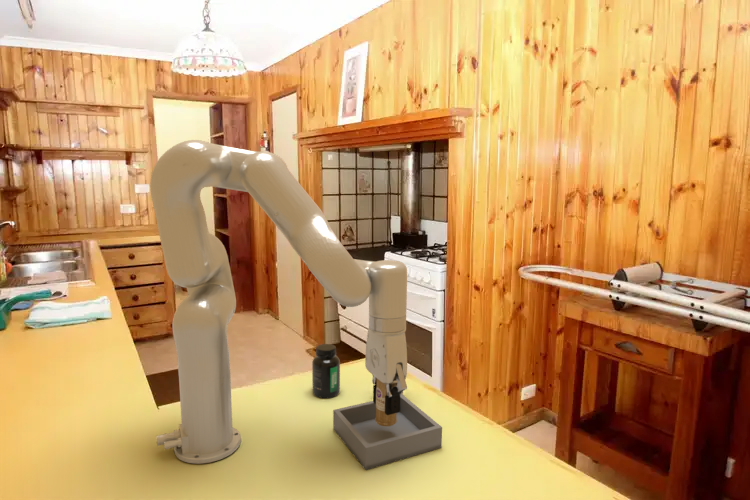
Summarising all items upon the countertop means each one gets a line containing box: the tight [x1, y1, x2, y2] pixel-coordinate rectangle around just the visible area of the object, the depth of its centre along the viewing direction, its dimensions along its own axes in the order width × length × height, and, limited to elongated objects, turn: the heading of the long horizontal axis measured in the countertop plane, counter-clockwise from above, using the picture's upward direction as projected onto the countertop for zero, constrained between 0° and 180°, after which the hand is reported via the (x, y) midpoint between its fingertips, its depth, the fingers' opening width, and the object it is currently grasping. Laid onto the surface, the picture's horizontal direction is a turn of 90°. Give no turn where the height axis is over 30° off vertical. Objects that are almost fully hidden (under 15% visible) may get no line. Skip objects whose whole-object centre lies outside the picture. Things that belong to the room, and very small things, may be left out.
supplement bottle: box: [311, 343, 341, 399], centre depth 120 cm, size 7×7×12 cm
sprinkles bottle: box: [375, 377, 397, 426], centre depth 99 cm, size 5×5×14 cm
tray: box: [332, 394, 443, 471], centre depth 100 cm, size 17×16×4 cm
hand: (386, 406), depth 99 cm, fingers closed on sprinkles bottle, 4 cm apart
